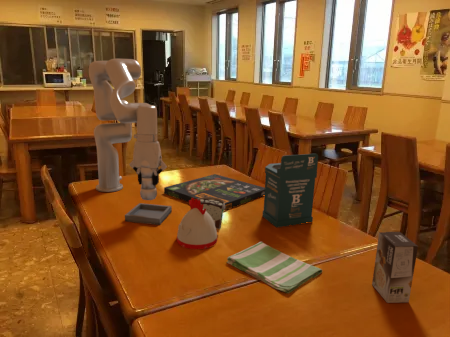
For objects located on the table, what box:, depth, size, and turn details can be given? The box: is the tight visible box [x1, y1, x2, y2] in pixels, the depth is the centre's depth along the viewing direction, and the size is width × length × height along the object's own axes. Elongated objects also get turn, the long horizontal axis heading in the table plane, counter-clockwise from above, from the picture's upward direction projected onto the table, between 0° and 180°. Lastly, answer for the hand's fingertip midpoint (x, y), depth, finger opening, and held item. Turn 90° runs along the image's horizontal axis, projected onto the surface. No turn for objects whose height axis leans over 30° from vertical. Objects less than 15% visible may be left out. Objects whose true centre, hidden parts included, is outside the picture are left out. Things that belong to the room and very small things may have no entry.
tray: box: [124, 202, 173, 226], centre depth 149 cm, size 14×14×2 cm
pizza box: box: [163, 173, 265, 212], centre depth 179 cm, size 35×35×4 cm
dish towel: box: [226, 241, 323, 294], centre depth 113 cm, size 18×23×3 cm
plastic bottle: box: [139, 160, 158, 201], centre depth 145 cm, size 6×7×20 cm
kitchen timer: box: [176, 198, 218, 250], centre depth 128 cm, size 14×14×15 cm
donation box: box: [261, 153, 319, 229], centre depth 149 cm, size 16×16×28 cm
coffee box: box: [371, 231, 419, 304], centre depth 100 cm, size 9×6×16 cm
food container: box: [198, 197, 225, 230], centre depth 143 cm, size 12×6×10 cm, turn 65°
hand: (148, 183), depth 146 cm, fingers closed on plastic bottle, 5 cm apart
